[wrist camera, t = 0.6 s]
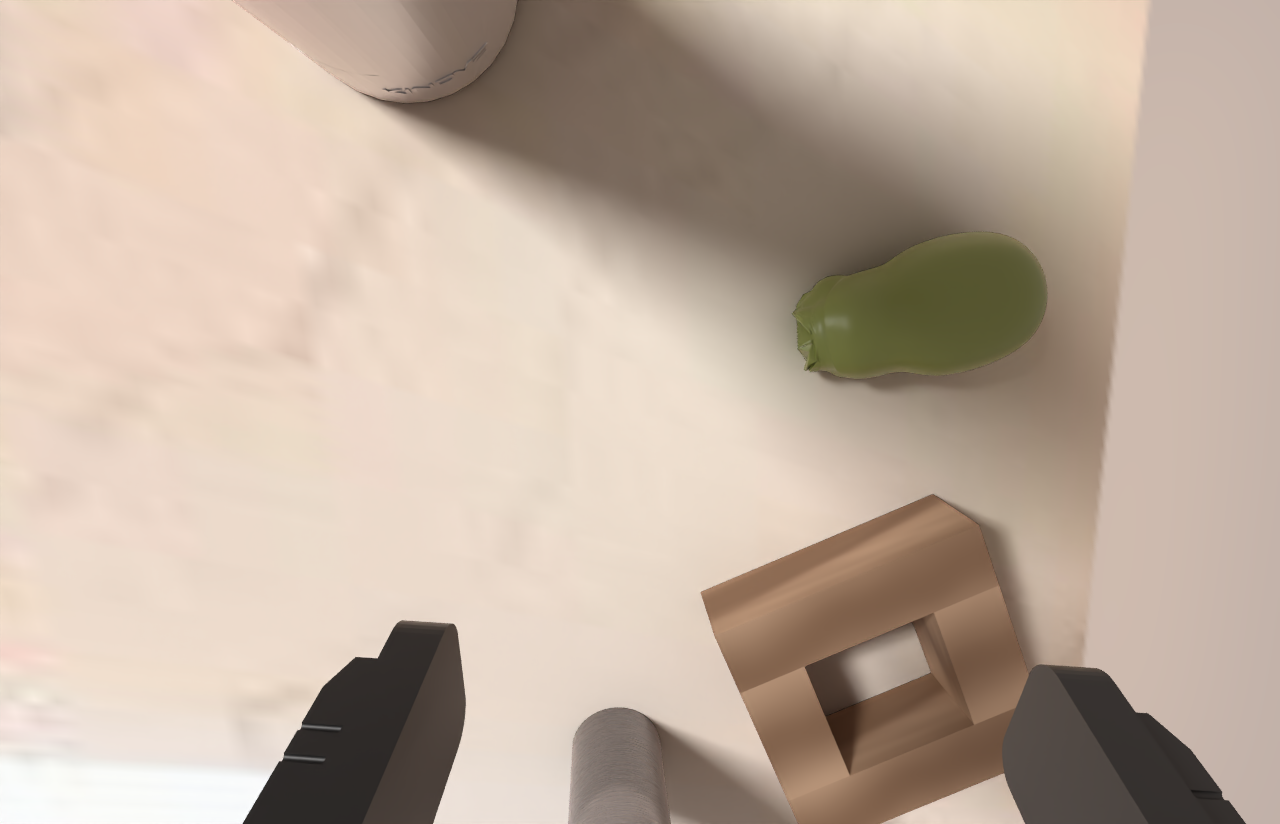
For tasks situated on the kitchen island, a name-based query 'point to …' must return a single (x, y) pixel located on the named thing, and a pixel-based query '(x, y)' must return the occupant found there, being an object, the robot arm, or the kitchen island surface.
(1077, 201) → the kitchen island surface
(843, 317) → the green rounded lump
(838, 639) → the socket block
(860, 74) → the kitchen island surface
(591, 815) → the pin
